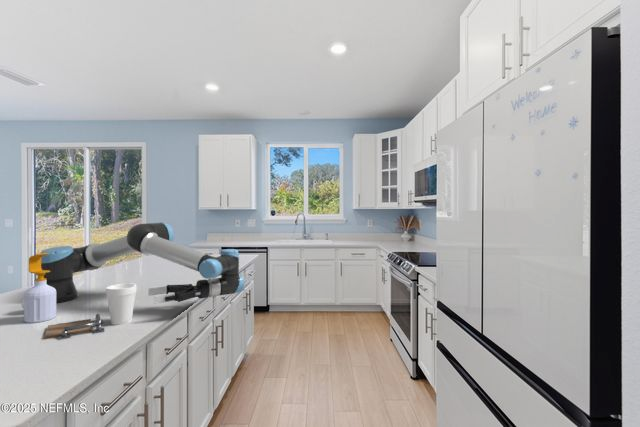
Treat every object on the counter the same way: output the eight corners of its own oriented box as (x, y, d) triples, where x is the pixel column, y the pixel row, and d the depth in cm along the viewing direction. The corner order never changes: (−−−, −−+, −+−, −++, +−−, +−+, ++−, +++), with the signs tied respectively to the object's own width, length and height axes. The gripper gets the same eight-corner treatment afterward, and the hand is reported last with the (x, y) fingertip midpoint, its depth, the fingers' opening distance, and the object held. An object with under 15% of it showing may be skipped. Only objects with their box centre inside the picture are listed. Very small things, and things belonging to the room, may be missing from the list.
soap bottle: (37, 324, 114) (37, 255, 114) (17, 322, 116) (17, 254, 116) (62, 316, 123) (62, 251, 123) (43, 314, 125) (43, 251, 125)
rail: (60, 327, 111) (60, 318, 111) (102, 320, 118) (102, 312, 118) (58, 339, 101) (58, 329, 101) (104, 331, 108) (104, 322, 108)
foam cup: (104, 328, 111) (104, 290, 111) (107, 319, 119) (107, 284, 119) (135, 323, 115) (136, 287, 115) (137, 316, 124) (137, 282, 124)
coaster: (48, 327, 111) (48, 325, 111) (90, 321, 118) (90, 318, 118) (44, 339, 101) (44, 336, 101) (91, 331, 108) (91, 328, 108)
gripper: (217, 304, 126) (157, 314, 113) (199, 291, 146) (146, 298, 133) (217, 284, 126) (157, 292, 113) (199, 274, 146) (146, 280, 133)
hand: (151, 295), depth 123 cm, fingers open, 13 cm apart
